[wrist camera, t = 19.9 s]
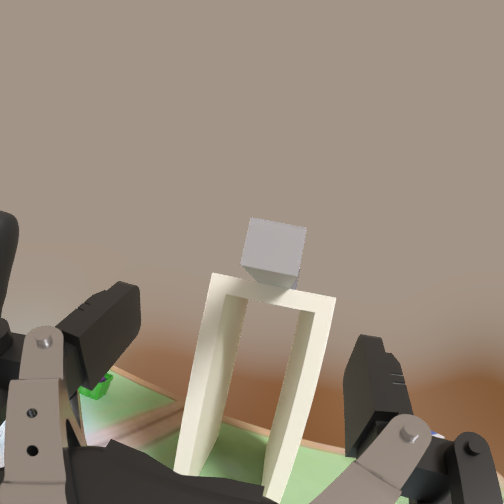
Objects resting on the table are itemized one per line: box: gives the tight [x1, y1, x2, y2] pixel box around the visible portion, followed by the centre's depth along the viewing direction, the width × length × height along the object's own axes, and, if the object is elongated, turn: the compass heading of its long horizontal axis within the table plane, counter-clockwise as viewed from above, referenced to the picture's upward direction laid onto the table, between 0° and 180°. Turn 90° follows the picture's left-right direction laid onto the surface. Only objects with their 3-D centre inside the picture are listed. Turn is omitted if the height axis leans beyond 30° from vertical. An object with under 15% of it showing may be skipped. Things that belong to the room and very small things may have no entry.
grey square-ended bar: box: [240, 217, 307, 290], centre depth 37 cm, size 36×6×4 cm, turn 175°
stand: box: [173, 273, 336, 504], centre depth 45 cm, size 26×14×32 cm, turn 175°
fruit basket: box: [78, 373, 113, 400], centre depth 60 cm, size 11×9×11 cm
